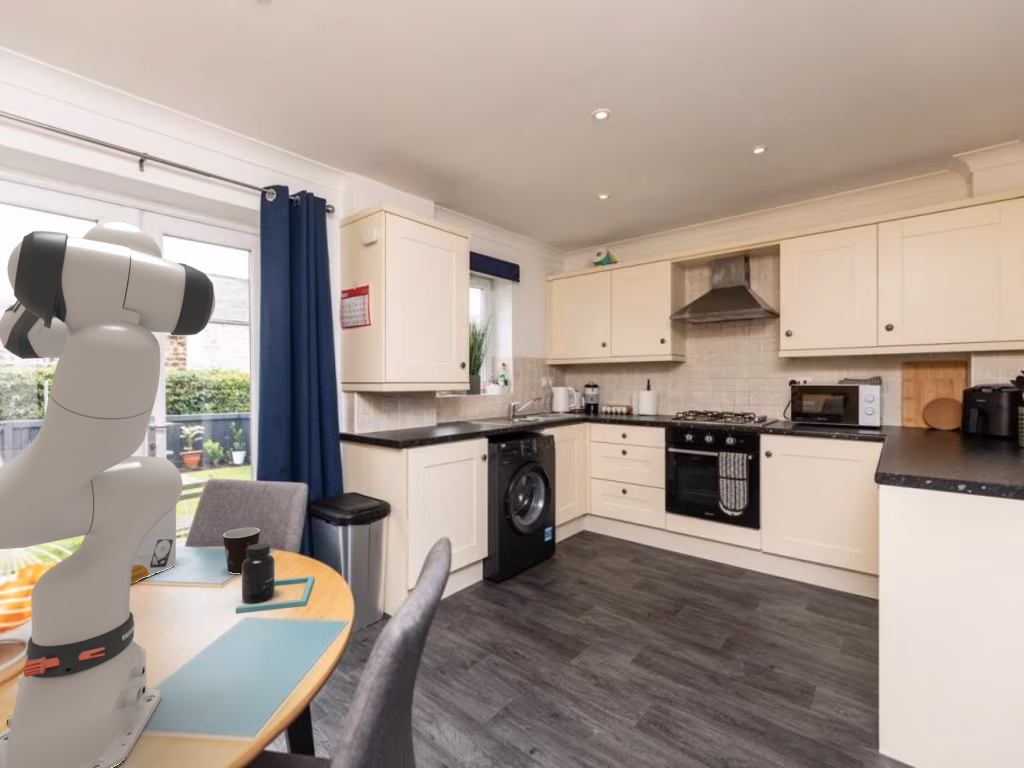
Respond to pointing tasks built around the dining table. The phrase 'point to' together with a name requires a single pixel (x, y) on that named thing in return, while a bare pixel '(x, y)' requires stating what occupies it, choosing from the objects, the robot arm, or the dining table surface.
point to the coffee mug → (239, 546)
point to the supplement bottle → (258, 574)
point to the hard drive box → (156, 549)
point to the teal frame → (283, 603)
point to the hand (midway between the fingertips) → (91, 442)
